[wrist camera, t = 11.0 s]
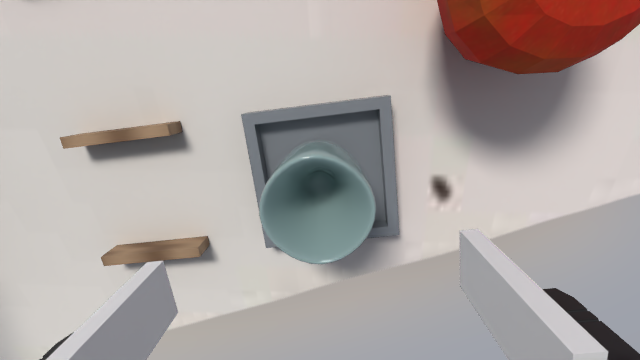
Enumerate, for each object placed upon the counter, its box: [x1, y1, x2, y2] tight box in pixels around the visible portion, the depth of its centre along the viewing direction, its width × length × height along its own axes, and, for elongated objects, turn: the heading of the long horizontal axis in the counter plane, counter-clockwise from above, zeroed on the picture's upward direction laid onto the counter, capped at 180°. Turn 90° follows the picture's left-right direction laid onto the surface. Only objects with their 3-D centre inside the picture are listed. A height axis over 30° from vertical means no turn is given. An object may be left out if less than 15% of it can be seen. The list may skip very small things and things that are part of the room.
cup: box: [259, 140, 376, 264], centre depth 26 cm, size 8×8×10 cm
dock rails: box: [60, 121, 209, 266], centre depth 31 cm, size 10×13×2 cm
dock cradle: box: [241, 95, 399, 248], centre depth 30 cm, size 13×13×2 cm
